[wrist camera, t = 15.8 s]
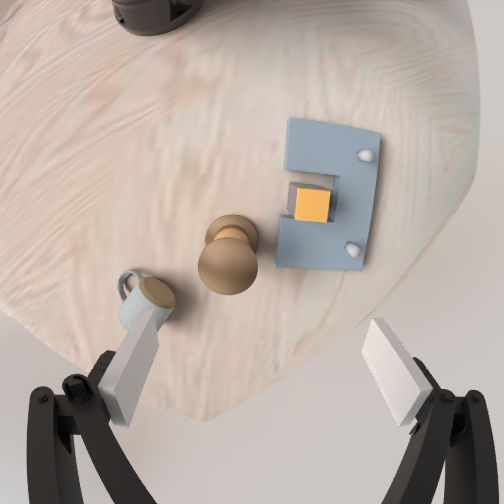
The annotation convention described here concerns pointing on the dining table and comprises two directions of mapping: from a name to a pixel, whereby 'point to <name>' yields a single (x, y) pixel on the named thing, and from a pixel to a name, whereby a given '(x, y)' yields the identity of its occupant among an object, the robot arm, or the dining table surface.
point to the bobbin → (229, 255)
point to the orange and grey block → (308, 202)
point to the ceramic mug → (145, 299)
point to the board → (343, 201)
